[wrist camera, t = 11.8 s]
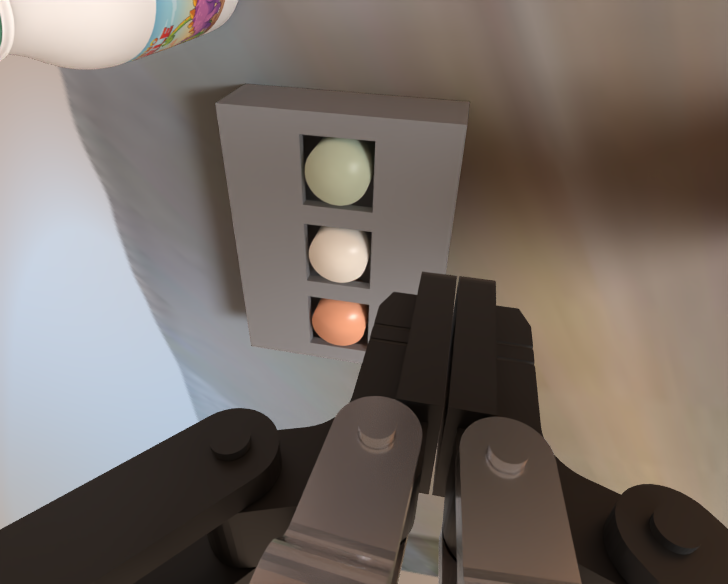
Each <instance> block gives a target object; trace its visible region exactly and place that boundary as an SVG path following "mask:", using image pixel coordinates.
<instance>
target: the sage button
mask: <svg viewBox="0 0 728 584" xmlns="http://www.w3.org/2000/svg"><path fill="white" fill-rule="evenodd" d="M374 164H375V141H366V140H356V139H345V138H335V137H323V138H322V139H321V141H320V142H319V143H318V144H317V146H316V147H315V148H314V149H313V151H312V152H311V153H310V155H309V156H308V158H307V160H306V164H305V178H306V181H307V184H308V186H309V188H310V189H311V191H312V192H313V193H314V194H315V195H316V196H317V197H318V198H320V199H321V200H322V201H324V202H326V203H329V204H332V205H337V206H344V205H349V204H352V203H354V202H356V201H358V200H359V199H360V198H361V197H362V196H363V195H364V194H365V192H366V190H367V188H368V186H369V184H370V182H371V179H372V177H373V175H374Z"/></svg>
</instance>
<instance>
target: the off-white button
mask: <svg viewBox="0 0 728 584" xmlns="http://www.w3.org/2000/svg"><path fill="white" fill-rule="evenodd" d="M371 244H372V232H368V231H360V230H351V229H343V228H335V227H327V226H321V227H320V229H319V231H318V232H317V234H316V236H315V238H314V240H313V241H312V243H311V245H310V248H309V259H310V262H311V264H312V266H313V268H314V269H315V270H316V271H317V273H319V274H320V275H321V276H322V277H324V278H326V279H328V280H330V281H333V282H338V283H346V282H351V281H353V280H355V279H357V278H359V277H360V276H361V275H362V274H363V272H364V270H365V268H366V265H367V262H368V260H369V257H370V254H371Z"/></svg>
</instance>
